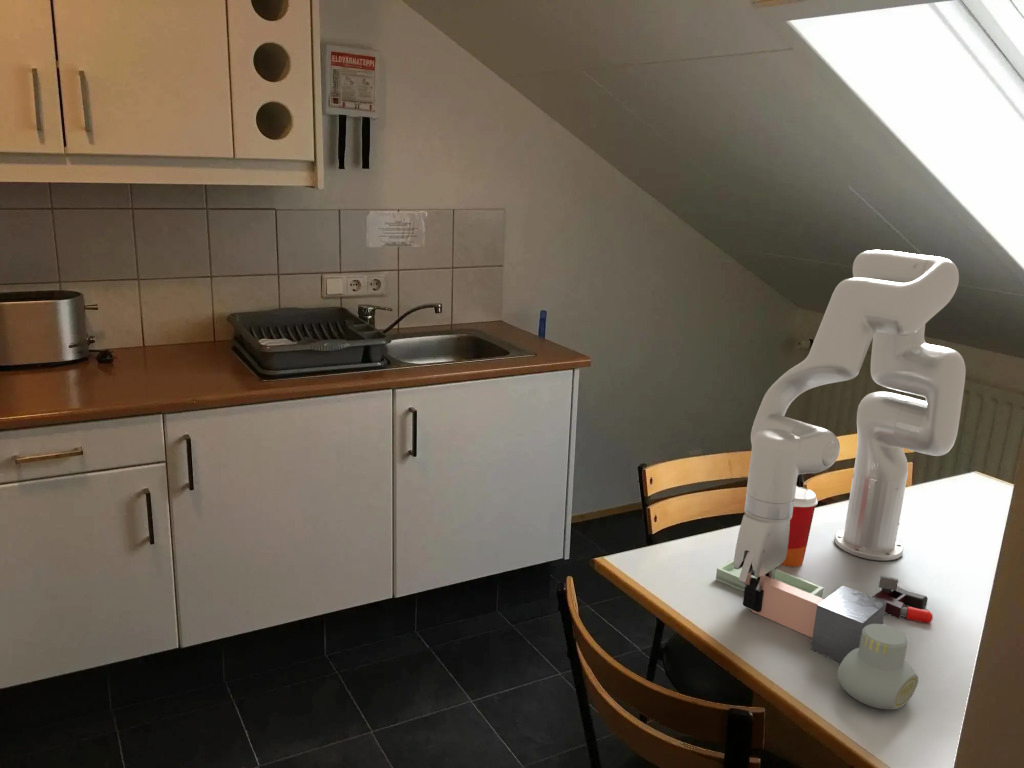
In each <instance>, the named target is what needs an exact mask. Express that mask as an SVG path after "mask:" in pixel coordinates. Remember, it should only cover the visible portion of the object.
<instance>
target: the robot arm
mask: <svg viewBox="0 0 1024 768" xmlns="http://www.w3.org/2000/svg"><path fill="white" fill-rule="evenodd" d="M959 281H960V273H959V269H958V267H957V266H956V264H955V263H954V262H953V261H952V260H950V259H949V258H945V257H942V256H936V255H935V256H934V255H927V254H918V253H917V254H916V253H911V252H910V253H909V252H905V251H904V252H903V251H895V250H885V249H884V250H881V249H872V250H865V251H863V252H860V253H859V254H858V255H857V256H855V259H854V261H853V264H852V277H850V278H845V279H843V280H841V281H840V282H839V283H838V284H837V285H836V287H835V288H834V291H833V292H832V294H831V297H830V299H829V302H828V304H827V307H826V310H825V312H824V315H823V317H822V319H821V322H820V325H819V327H818V330H817V332H816V335H815V337H814V339H813V343H812V345H811V348H810V350H809V351H808V352H809V353H808V354H807V356H806V358H804V360H802V361H801V362H799V363H798V364H796V365H794V366H793V367H791V368H789V369H788V370H787V371H785V372H784V373H783V374H782V375H781V376H780V377H779V378H778V379H776V381H774V383H772V384H771V386H770V387H769V388H768V389H767V391H766V392H765V394H764V396H763V398H762V401H761V402H760V405H759V408H758V410H757V413H756V415H755V418H754V420H753V425H752V427H751V430H750V431H751V432H750V443H751V453H750V458H749V459H750V462H749V467H748V476H747V485H746V493H745V494H746V495H745V502H744V508H743V509H744V510H743V511H744V514H743V516H742V520H741V523H740V526H739V530H738V535H737V542H736V544H735V552H734V557H733V559H734V564H733V566H734V568H735V569H740V568H741V567H742V570H741V574H740V577H739V582H741V583H744V586H745V590H744V591H743V598H742V600H743V601H742V605H743V607H745V608H747V609H750V610H751V611H752V610H754V611H756V612H760V611H761V608H762V600H763V593H764V591H763V590H762V585H763V578H764V575H765V576H768V577H770V578H773V579H774V578H775V571H776V570H777V569H778V567H779V566H781V565H780V564H782V563H783V562H784V560H785V558H786V554H787V549H788V541H789V530H790V520H791V518H792V514H793V506H794V498H795V492H796V486H797V482H798V477H799V475H804V474H805V475H806V474H816V473H821V472H823V471H826V470H828V469H829V468H830V467H832V466H833V465H834V464H835V463H836V461H837V460H838V458H839V454H840V450H841V445H840V441H839V439H838V437H837V435H836V434H834V433H833V432H832V431H830V430H829V429H826V428H824V427H821V426H818V425H813V424H811V423H807V422H804V421H801V420H797V419H794V418H791V417H787V416H785V415H786V413H787V411H788V409H789V408H790V407H789V406H791V403H793V402H794V401H795V399H797V397H799V396H800V395H801V394H803V393H805V392H806V391H809V390H811V389H813V388H816V387H820V386H825V385H828V384H829V385H830V384H835V383H839V382H845V381H846V382H847V381H849V380H852V379H855V378H856V377H857V376H858V375H859V373H860V370H861V368H862V366H863V363H864V360H865V359H866V355H867V353H868V350H869V348H870V345H871V343H872V346H871V353H870V354H871V356H870V377H871V380H873V381H874V383H876V384H877V385H879V386H881V387H883V388H887V389H890V390H893V391H898V392H903V393H906V394H911V395H914V396H915V395H916V396H918V397H923V398H925V400H922V399H919V398H916V397H912V396H908V395H903V394H900V393H895V392H890V391H874V392H871V393H868V394H865V396H864V397H863V398H862V399H861V400H860V402H859V404H858V407H857V410H856V411H857V412H856V429H857V432H856V433H857V434H856V437H857V438H856V439H857V445H856V454H855V461H854V467H853V473H852V479H851V485H850V493H849V499H848V504H847V505H848V506H847V512H846V518H845V523H844V528H842V529H840V530H837V532H836V533H835V534H834V542H835V544H836V545H837V546H838V548H840V549H841V550H842V551H844V552H846V553H848V554H850V555H853V556H856V557H858V558H863V559H866V560H871V561H883V562H885V561H893V560H894V561H895V560H896V559H899V558H901V557H902V556H903V552H904V546H903V544H902V543H901V542H900V541H899V540H898V539H897V536H898V532H899V526H900V519H901V518H900V517H901V514H902V507H903V501H904V496H905V490H906V484H907V481H908V480H907V479H908V474H909V464H908V459H907V455H906V454H905V451H904V450H909V451H912V452H916V453H920V454H923V455H928V456H934V457H940V456H945V455H946V454H948V453H949V452H950V451H951V449H952V448H953V447H954V444H955V443H956V440H957V437H958V431H959V426H960V420H961V414H962V413H961V412H962V404H963V398H964V390H965V383H966V374H967V371H966V369H967V368H966V363H965V360H964V358H963V355H962V354H960V352H959V351H958V350H955V349H952V348H950V347H946V346H943V345H936V344H930V343H927V342H926V340H925V332H926V331H925V330H926V324H927V323H928V322H929V321H930V320H931V319H932V318H933V317H935V316H936V315H937V314H938V313H939V312H940V311H941V310H943V309H944V307H946V306H947V305H948V304H949V303H950V302H951V300H952V298H953V297H954V295H955V294H956V291H957V288H958V287H959ZM751 575H753V576H755V577H757V578H753V577H751ZM756 579H757V580H756Z"/></svg>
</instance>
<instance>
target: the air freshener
mask: <svg viewBox="0 0 1024 768" xmlns="http://www.w3.org/2000/svg"><path fill="white" fill-rule="evenodd" d="M907 647H908V638H907V637H906V635H905V634H904V633H903V632H901V630H899V629H897V628H895V627H894V626H891V625H887V624H885V623H883V624H870V625H867V626H865V627H864V628H863V629H862V635H861V640H860V646H859V648H856V649H854V650H852V651H851V652H850V653H849V654H847V656H846V657H845V658H844V659H843V661H842V662H841V663H840V664H839V666H838V668H837V672H836V676H837V679H838V682H839V684H840V685H841V687H842V688H843V690H845V692H846V693H848V695H850V696H851V697H852V698H854V699H855V700H856V701H858V702H860V703H862V704H864V705H865V706H869V707H872V708H877V709H881V710H896V709H897V710H898V709H901V708H902V707H903V706H905V705H906V704H907V702H909V700H910V699H911V698H912V696H913V694H914V692H915V691H916V689H917V686H918V684H919V683H918V682H919V677H918V674H917V673H916V671H915V670H914V668H913V667H912V666H911V665H910V664H909V663H908V662H907V661H906V660H905V659H906V658H905V657H906V652H907Z"/></svg>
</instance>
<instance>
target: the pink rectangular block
mask: <svg viewBox="0 0 1024 768" xmlns="http://www.w3.org/2000/svg"><path fill="white" fill-rule="evenodd" d="M756 580H757V579H756ZM762 590H763V591H764V593H763V600H762V608H761V611H760V612H756V611H754V610H752V609H751V612H752V613H754V614H757V615H759V616H760V617H764V618H766V619H768V620H771V621H773V622H775V623H777V624H780V625H782V626H784V627H787V628H789V629H791V630H794V631H795V632H797V633H800V634H802V635H804V636H807V637H809V638H811V639H812V637H813V630H814V623H815V617H816V610H817V605H818V604H819V603H820V602H822V601H823V600H824V599H825V598H823V597H822V598H820V597H818V596H815V595H813V594H810V593H808V592H805V591H803V590H800V589H798V588H795V587H793V586H790V585H788V584H785V583H783V582H780V581H778V580H775V579H773V578H770V577H768V576H765V575H764V578H763V585H762Z"/></svg>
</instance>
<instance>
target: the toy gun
mask: <svg viewBox="0 0 1024 768" xmlns="http://www.w3.org/2000/svg"><path fill="white" fill-rule="evenodd" d="M898 583H899V579H898V578H894V577H890V576H886V575H885V576H883V575H880V577H879V582H878V588H879V589H881V590H880V591H878V592H876V593H875V594H873V595H871V597H874V598H876V599H879V600H881V601H884V602H887V603H886V609H885V614H887V615H889V616H891V617H894V618H896V619H897V620H898V619H900V618H901V617H902V616H903V617H905V619H906V620H911V621H915V622H920V623H924V624H929V623H931V622H932V621H933V618H934V617H933V614H932V612H931V611H929V610H927V609H925V608H926V607H927V604H928V597H927V595H924V594H921V593H916V592H913V591H908V590H907V589H904V588H902V587H900V586H898ZM904 606H907V607H904Z"/></svg>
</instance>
